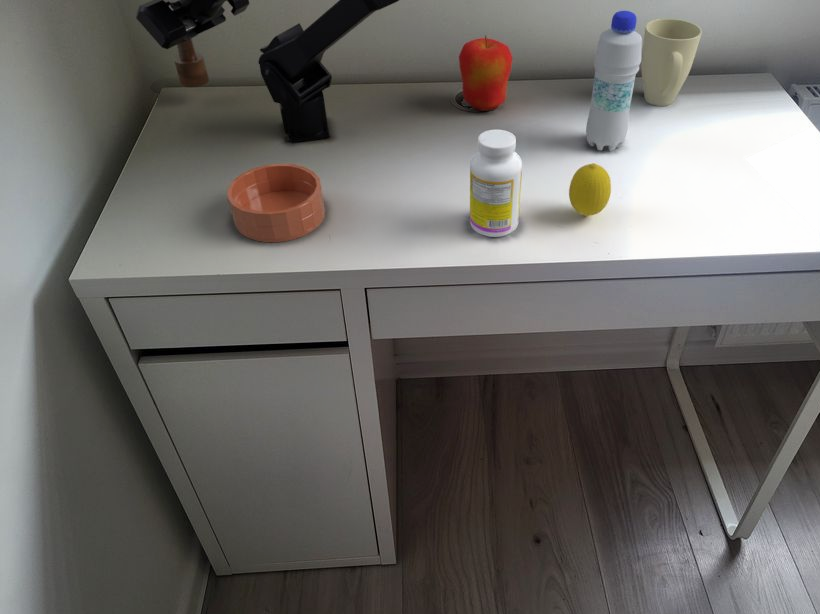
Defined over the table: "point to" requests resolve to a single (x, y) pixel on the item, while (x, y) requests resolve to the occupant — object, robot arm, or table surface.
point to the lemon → (590, 189)
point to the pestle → (190, 63)
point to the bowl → (276, 202)
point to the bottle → (614, 82)
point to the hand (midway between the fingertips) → (177, 39)
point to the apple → (485, 72)
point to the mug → (667, 58)
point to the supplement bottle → (495, 184)
